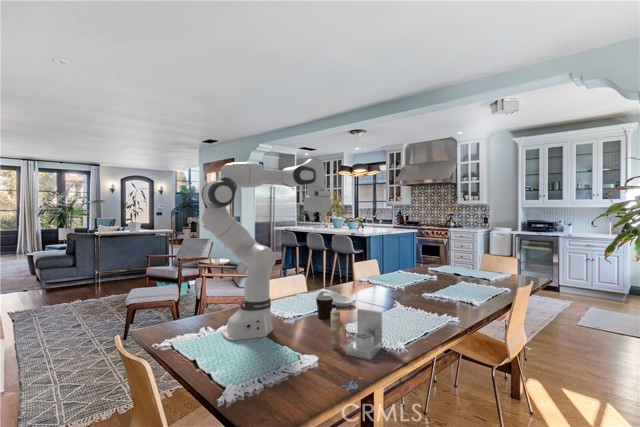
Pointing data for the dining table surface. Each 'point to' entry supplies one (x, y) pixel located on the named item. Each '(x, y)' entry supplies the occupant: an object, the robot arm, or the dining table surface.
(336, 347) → the beige banded cylinder
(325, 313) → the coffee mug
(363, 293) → the dining table surface
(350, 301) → the spoon rest
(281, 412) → the dining table surface
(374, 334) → the cup bracket
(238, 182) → the robot arm
